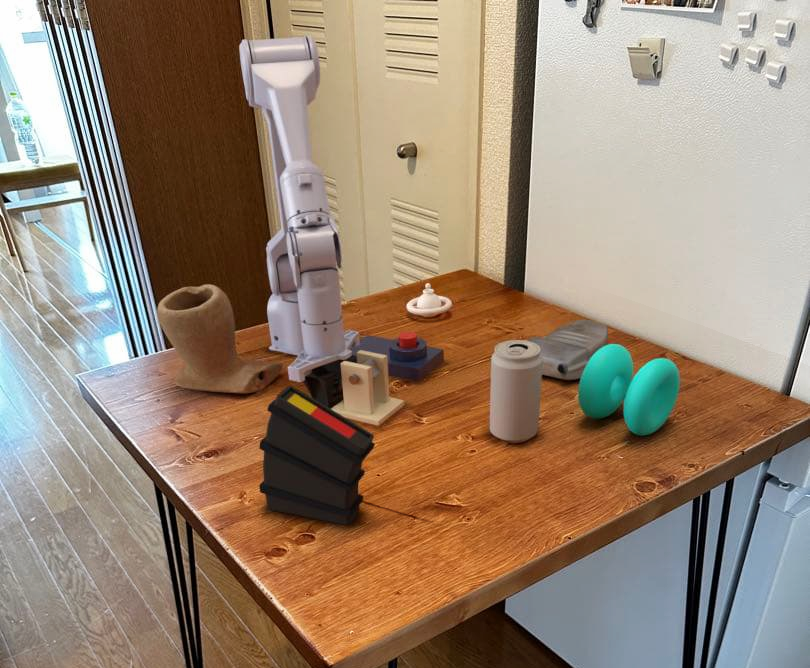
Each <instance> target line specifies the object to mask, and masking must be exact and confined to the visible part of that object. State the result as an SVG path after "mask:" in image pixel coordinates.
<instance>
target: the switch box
mask: <svg viewBox="0 0 810 668" xmlns="http://www.w3.org/2000/svg"><path fill="white" fill-rule="evenodd" d="M370 358H372V359H373V361H374V363H375V364H376V366H377V368H378V370H379V372H380V374H378V375H377V376H376V377H374V378H373V379H372V367H371V366H366V365H362V364H360V363H362V362H364V361H366V360H368V359H370ZM357 363H358V364H357ZM357 363H352V362H348V361H343V362H342V363H341V375H342V385H343V396H344V398H343V399H341V400H340V402H338V403H337V404H335V405H333V406H332V407H331V408H330V409H332V410H333V411H335V412H337V413H338V414H340V415H342V416H343V417H345V418H347V419H348V420H354V421H357V422H362V423H366V424H370V425H374V426H378V427H379V426H380V425H382V424H383V423H384V422H386V420H388V419H389V418H391V417H392V416H393V415H394V414H395V413H396V412H398V411H399V410H400V409H402V408H403V407H404V406H405V400H403V399H399V398H396V397H391V396H390V381H389V379H390V378H389V375H388V360H387V355H382V354H377V353H373V352H368V351H363V350H360V351H358V352H357Z"/></svg>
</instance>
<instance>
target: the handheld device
mask: <svg viewBox="0 0 810 668" xmlns="http://www.w3.org/2000/svg"><path fill="white" fill-rule="evenodd" d="M608 336H609V330H608V327H607V325H606V324H605V323H602V322H598V321H593V320H588V319H577V320H574V321H572V322H568V323H566V324H564V325H561V326H559V327H558V328H556V329H554V330H553V331H551V332H550V333H548V334H547V335H546V336H545V337H540V336H537V335H533V336H531V337H530V338H529V339H527V341H530V342H533V343H535V344H537V345H538V346H539V347H540V354H541V355H542V357H543V365H542V376H548V377H551V378H555V379H560V380H565V381H574V380H579V379H581V376H582V373H583V371H584V369H585V367H586V365H587V363H588V361H589V360H590V358H591V357H592V356H593V355H594V354H595V353H596V352H597V351H598V350H599V349H601V348H602V347H604V346H606V345H608Z"/></svg>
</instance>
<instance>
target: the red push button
mask: <svg viewBox="0 0 810 668" xmlns="http://www.w3.org/2000/svg"><path fill="white" fill-rule="evenodd" d="M417 337H418V334H417V333H416V332H414V331H404V332H400V333H399V334H398V337H397V338H399V347H400V348H413V347H417Z"/></svg>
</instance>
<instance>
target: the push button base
mask: <svg viewBox="0 0 810 668" xmlns="http://www.w3.org/2000/svg"><path fill="white" fill-rule="evenodd" d="M359 339H360V345H358V346H357V347H353V346H352V347H350V349H349V350H351V351H352V355H355V356H356V363H357V352H358V351H360V350H363V351H368V352H373V353H377V354H382V355H387V360H388V376H391V377H396V378H400V379H406V380H409V381H414V382H420V381H421V380H422V379H424V378H425V377H426V376H427V375H429V374H430V373H431V372H433V371H434V370H435V369H437V367H438V366H440V365H442V363H444V362H445V357H444V356H445V355H444V353H445V352H444V349H443V348H438V347H433V346H429V345H428V342H427V340H425V339H424V338H422V337H418V336H417V347H413V348H400V347H399V338H398V337H397V338H395V339H391V338H387V337H381V336H375V335H371V334H366V335H365V336H364V337H361V338H359ZM357 364H358V363H357Z"/></svg>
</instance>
